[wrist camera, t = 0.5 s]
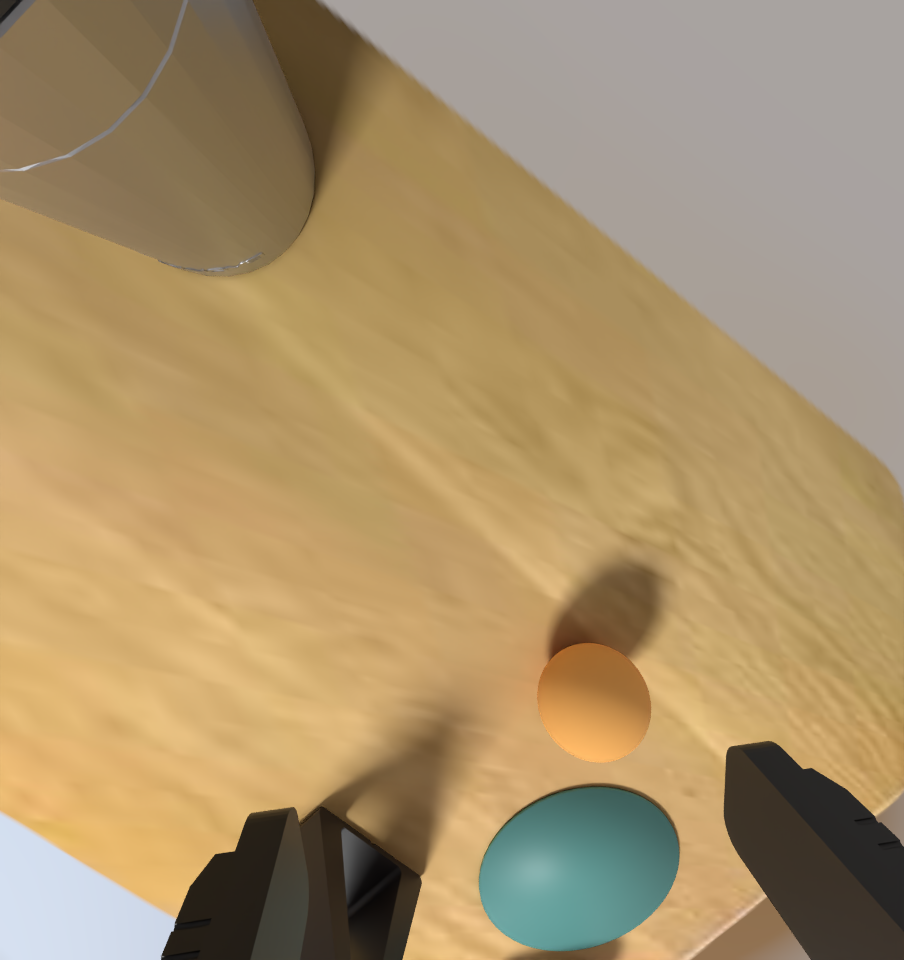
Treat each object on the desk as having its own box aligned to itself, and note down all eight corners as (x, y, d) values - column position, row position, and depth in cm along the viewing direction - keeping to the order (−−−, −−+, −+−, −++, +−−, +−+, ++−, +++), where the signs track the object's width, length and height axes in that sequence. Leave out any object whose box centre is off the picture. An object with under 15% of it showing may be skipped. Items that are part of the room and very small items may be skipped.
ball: (523, 629, 30) (553, 696, 24) (622, 617, 30) (674, 679, 25) (528, 716, 31) (557, 798, 26) (622, 702, 32) (671, 781, 26)
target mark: (471, 804, 33) (471, 807, 32) (680, 772, 34) (682, 774, 33) (486, 963, 36) (486, 966, 36) (675, 929, 37) (676, 932, 37)
